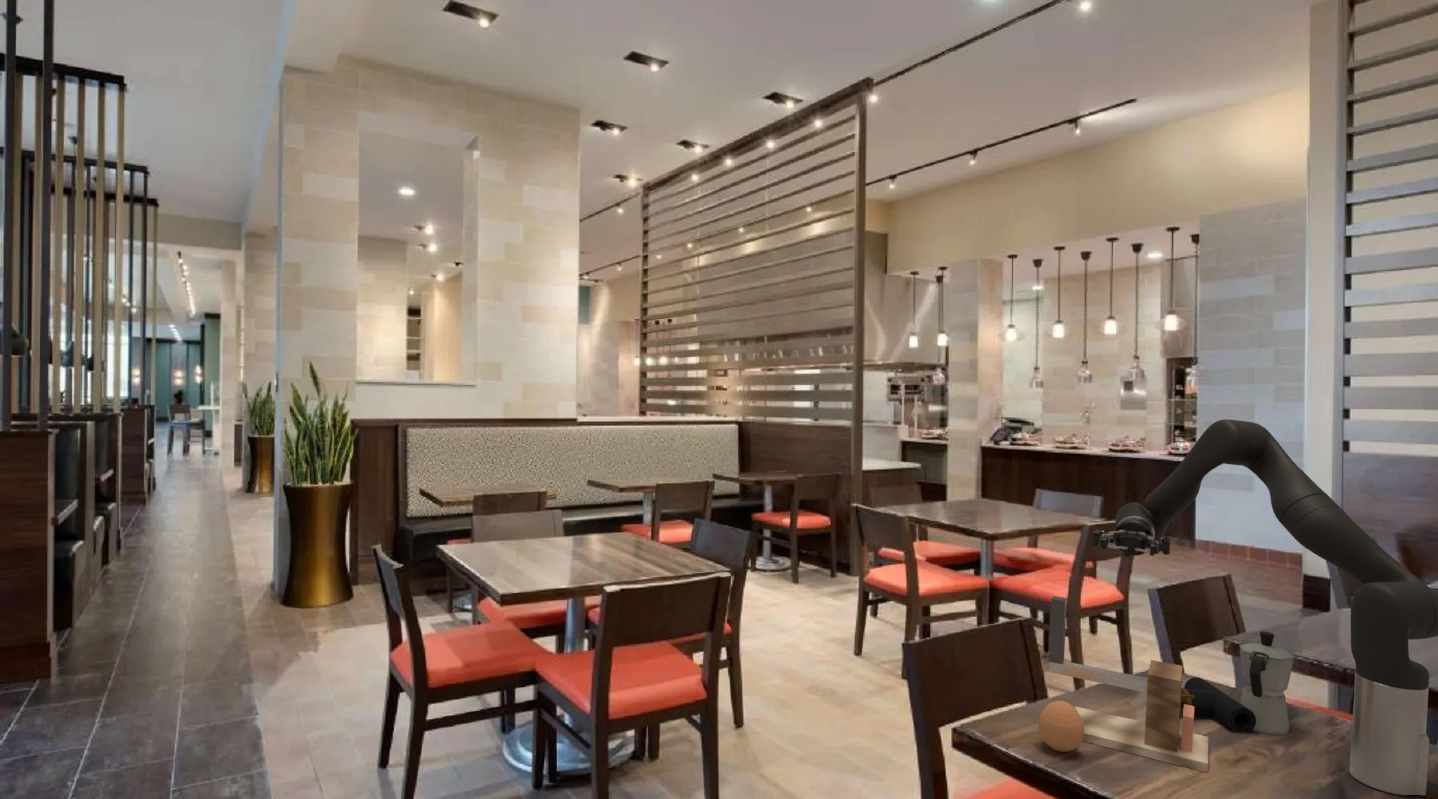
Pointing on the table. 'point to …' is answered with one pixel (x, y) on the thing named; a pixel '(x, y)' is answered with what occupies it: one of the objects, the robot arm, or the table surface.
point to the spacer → (1187, 728)
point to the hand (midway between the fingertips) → (1127, 547)
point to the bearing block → (1150, 724)
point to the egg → (1061, 726)
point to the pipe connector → (1216, 705)
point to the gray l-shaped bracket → (1079, 670)
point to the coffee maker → (1266, 684)
